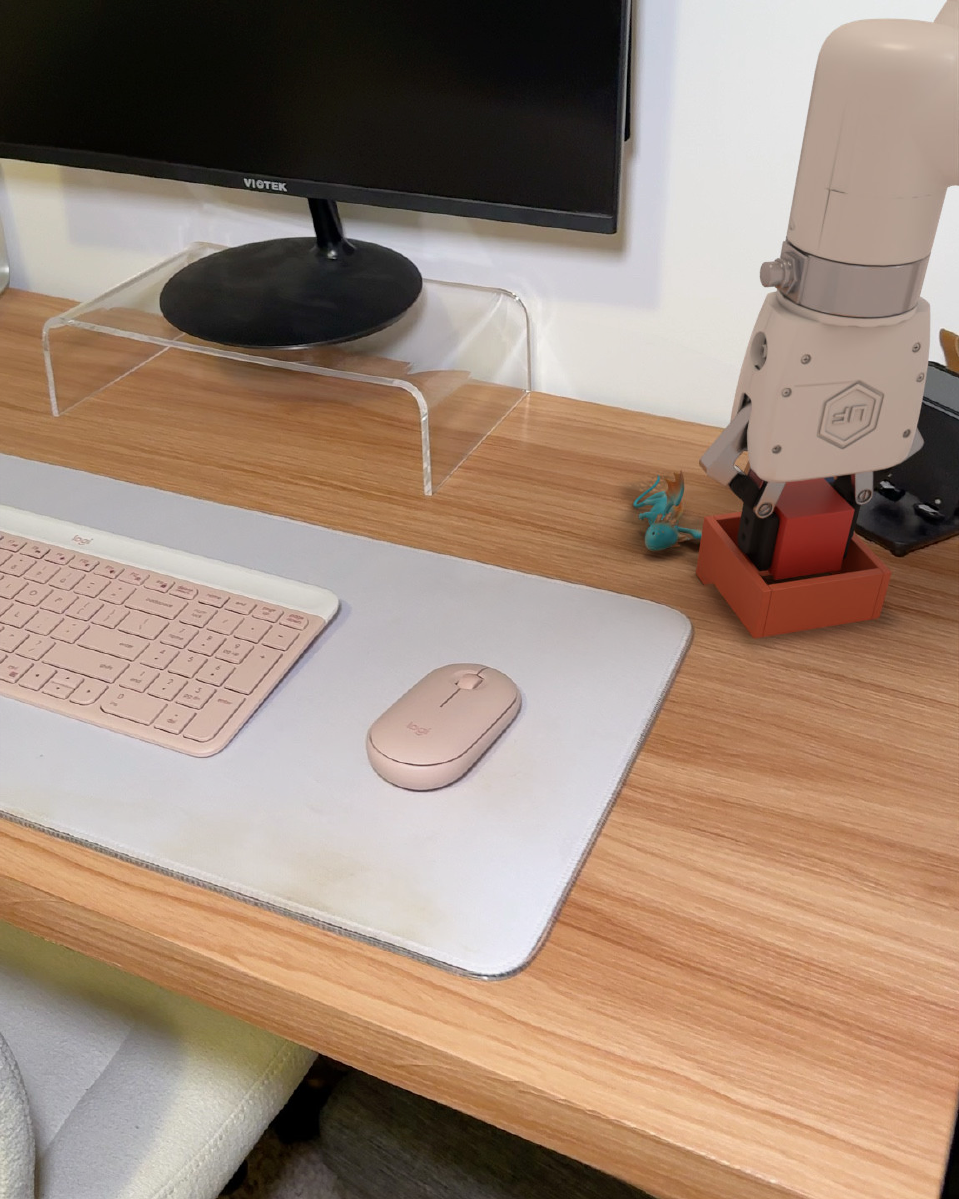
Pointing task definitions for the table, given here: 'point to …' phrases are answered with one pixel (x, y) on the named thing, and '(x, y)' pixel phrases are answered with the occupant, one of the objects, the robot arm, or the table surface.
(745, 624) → the red bin
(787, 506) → the red block
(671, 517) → the dragon figurine
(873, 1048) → the table surface
